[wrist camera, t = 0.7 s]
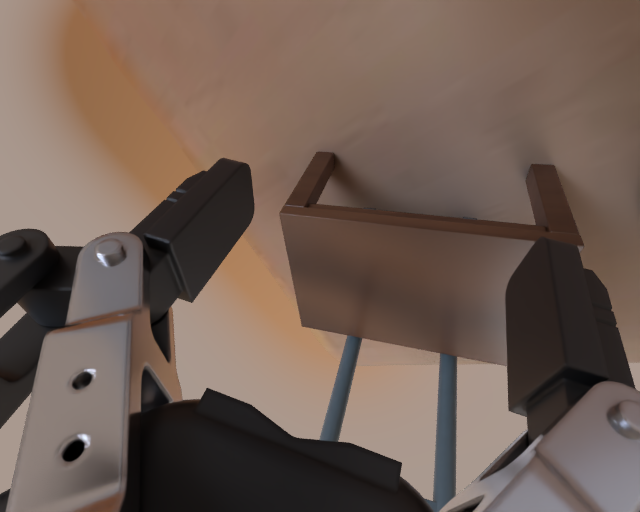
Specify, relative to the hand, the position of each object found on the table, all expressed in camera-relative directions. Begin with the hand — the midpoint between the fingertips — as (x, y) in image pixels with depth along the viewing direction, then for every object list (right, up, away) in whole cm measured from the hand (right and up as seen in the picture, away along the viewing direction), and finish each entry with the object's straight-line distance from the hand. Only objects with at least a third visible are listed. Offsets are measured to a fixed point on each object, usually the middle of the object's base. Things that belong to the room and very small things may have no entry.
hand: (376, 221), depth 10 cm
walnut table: (+7, +2, +22) cm, 23 cm away
